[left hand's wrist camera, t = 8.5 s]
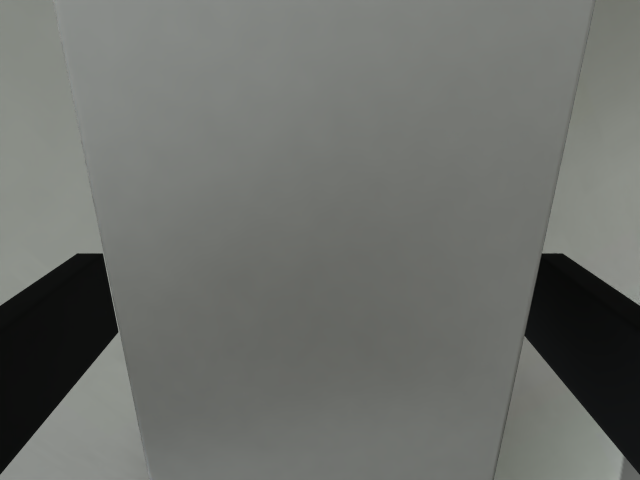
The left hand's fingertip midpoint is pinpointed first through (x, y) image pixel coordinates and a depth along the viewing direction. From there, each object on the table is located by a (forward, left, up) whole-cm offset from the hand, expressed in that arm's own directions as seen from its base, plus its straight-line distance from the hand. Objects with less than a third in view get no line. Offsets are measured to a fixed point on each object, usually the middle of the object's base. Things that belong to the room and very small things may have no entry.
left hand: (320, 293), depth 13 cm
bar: (+10, 0, -2) cm, 11 cm away
